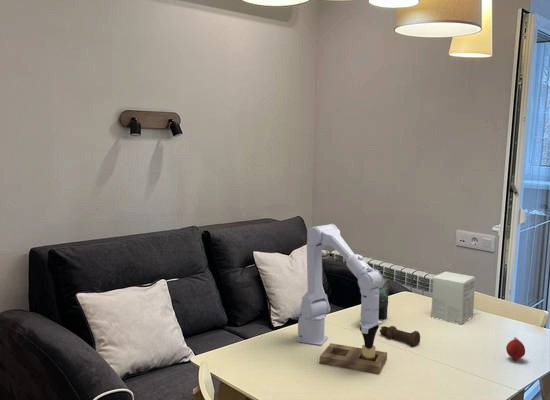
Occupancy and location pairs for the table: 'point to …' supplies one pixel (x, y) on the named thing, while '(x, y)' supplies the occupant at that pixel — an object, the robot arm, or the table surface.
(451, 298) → the supplement box
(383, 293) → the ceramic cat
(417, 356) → the table surface
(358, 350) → the frame
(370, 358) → the brass peg
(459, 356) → the table surface
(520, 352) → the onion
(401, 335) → the bolt
